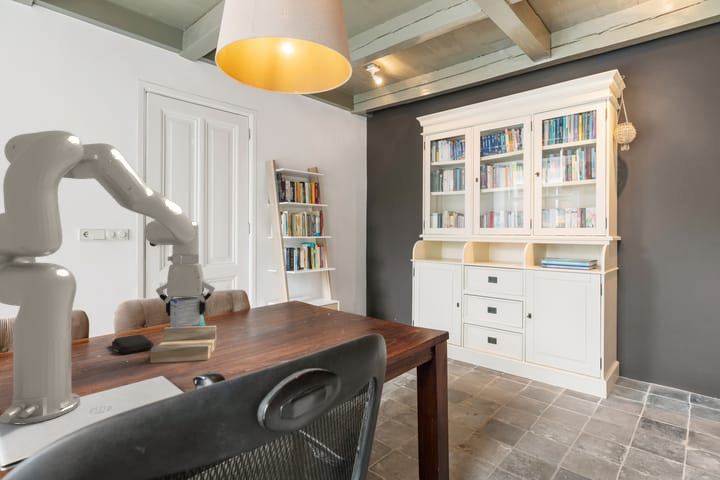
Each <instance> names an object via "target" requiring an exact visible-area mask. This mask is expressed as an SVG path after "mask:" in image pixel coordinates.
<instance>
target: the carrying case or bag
mask: <svg viewBox="0 0 720 480" xmlns="http://www.w3.org/2000/svg"><path fill="white" fill-rule="evenodd" d="M111 346H112V347H113V348H114V349H113V351H114V352H115V353H116V352H117V353H121V354H122V355H131V354H136V353H141V352H147V351H151V348H154V343H153V342H152V341H151V340H150V339H148V338H147V337H145V336H144V335H143V334H133V335H128V336H121V337H116V338H114V340H113V341H112V342H111Z"/></svg>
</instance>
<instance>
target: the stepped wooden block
mask: <svg viewBox="0 0 720 480" xmlns="http://www.w3.org/2000/svg"><path fill="white" fill-rule="evenodd" d="M216 348H217V325H206V326H186V327H182V328H174V327H171V326H169V327H168V326H167V327H164V328H163V341H162V342H160V343H159V344H158V345H157V346H156V347H152V348H151V350H150V354H149V355H150V358H149V359H150V360H149V361H150V364H154V363H156V364H157V363H174V362H175V363H176V362H190V361H191V362H192V361H209V359H210V358H211V356H212V354H213V353H214V350H215V349H216Z"/></svg>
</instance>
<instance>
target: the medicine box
mask: <svg viewBox="0 0 720 480" xmlns="http://www.w3.org/2000/svg"><path fill="white" fill-rule="evenodd" d="M200 302H201V300H200V299H199V298H198V297H197V296H195V297H174V298H173V299H171V300H170V316H169V318H170V319H169V320H170V326H169V327H174V328H182V327H191V325H196V324H201V315H200V313H199V303H200Z"/></svg>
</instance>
